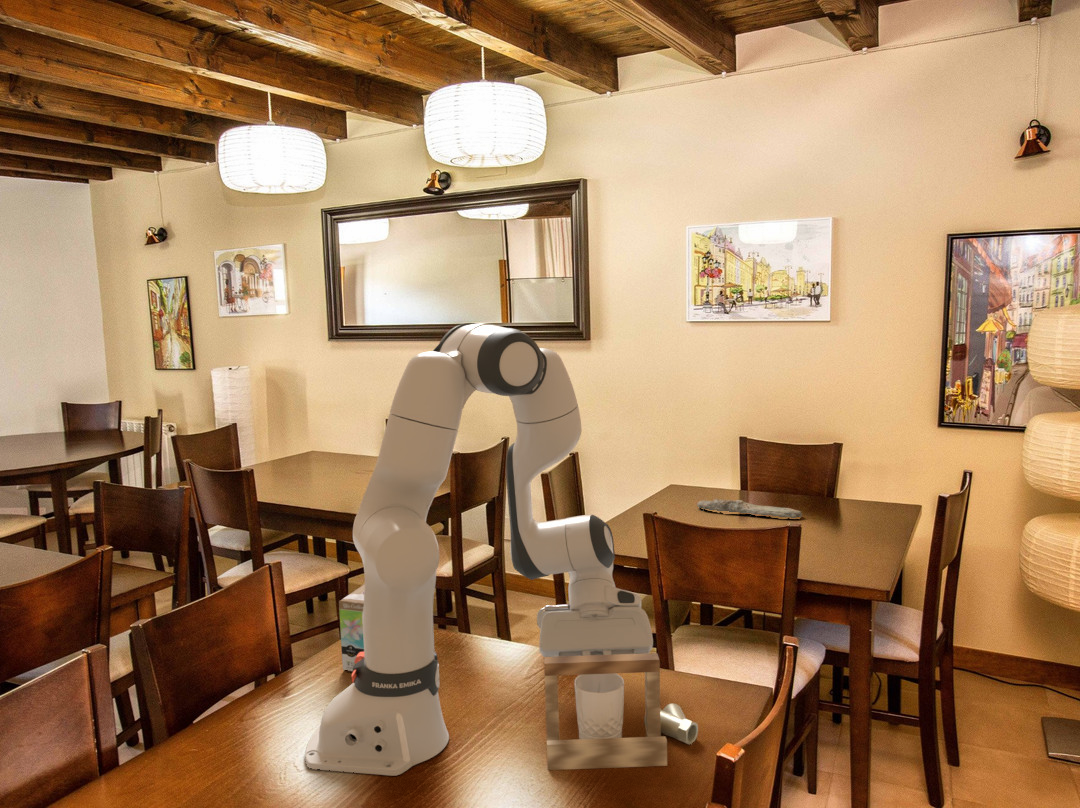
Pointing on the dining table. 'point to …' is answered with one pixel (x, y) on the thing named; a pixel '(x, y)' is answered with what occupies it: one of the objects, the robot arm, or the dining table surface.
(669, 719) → the pipe fitting
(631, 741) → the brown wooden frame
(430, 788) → the dining table surface
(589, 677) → the white cup
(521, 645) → the dining table surface
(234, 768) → the dining table surface
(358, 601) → the tea box
